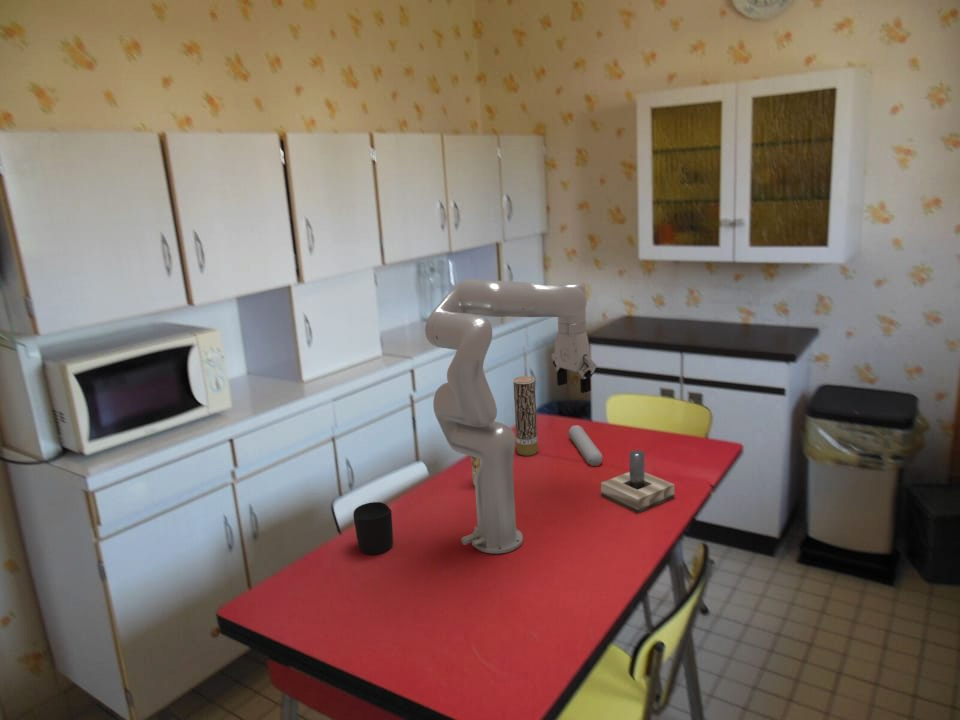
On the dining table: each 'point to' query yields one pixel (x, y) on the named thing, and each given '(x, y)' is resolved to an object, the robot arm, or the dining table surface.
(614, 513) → the dining table surface
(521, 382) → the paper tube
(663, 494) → the socket block
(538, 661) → the dining table surface
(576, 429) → the tube
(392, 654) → the dining table surface
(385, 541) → the pen holder
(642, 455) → the steel peg
